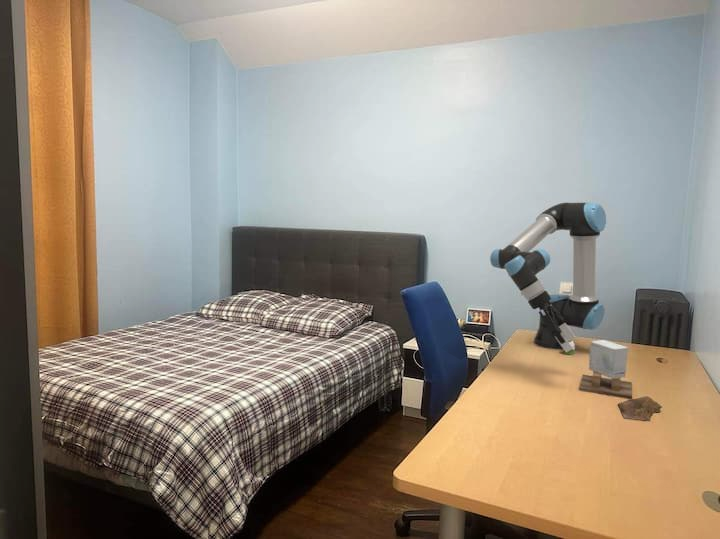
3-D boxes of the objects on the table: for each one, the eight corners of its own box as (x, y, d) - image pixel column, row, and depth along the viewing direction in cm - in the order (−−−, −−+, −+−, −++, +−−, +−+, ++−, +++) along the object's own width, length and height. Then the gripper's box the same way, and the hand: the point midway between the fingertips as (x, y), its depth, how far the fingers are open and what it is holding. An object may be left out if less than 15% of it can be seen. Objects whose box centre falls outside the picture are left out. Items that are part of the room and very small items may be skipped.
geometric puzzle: (553, 345, 222) (561, 334, 217) (566, 344, 224) (575, 333, 219) (561, 359, 217) (570, 347, 212) (574, 357, 219) (583, 346, 214)
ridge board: (582, 377, 187) (583, 363, 186) (631, 384, 179) (632, 371, 179) (578, 390, 172) (579, 375, 172) (631, 399, 165) (633, 384, 165)
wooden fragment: (645, 426, 145) (646, 422, 145) (605, 414, 153) (606, 411, 153) (670, 403, 163) (671, 400, 163) (633, 394, 171) (634, 391, 171)
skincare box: (587, 369, 179) (589, 340, 178) (601, 368, 181) (603, 339, 180) (611, 379, 169) (614, 348, 168) (626, 377, 172) (628, 347, 170)
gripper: (532, 293, 197) (564, 340, 194) (521, 307, 175) (558, 360, 172) (549, 283, 193) (582, 330, 190) (540, 296, 171) (578, 350, 168)
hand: (571, 345), depth 181 cm, fingers open, 13 cm apart
